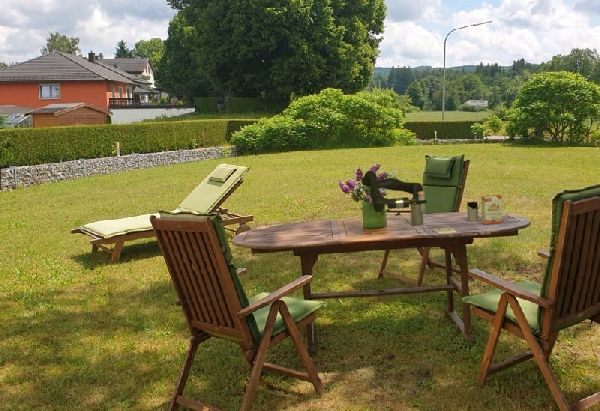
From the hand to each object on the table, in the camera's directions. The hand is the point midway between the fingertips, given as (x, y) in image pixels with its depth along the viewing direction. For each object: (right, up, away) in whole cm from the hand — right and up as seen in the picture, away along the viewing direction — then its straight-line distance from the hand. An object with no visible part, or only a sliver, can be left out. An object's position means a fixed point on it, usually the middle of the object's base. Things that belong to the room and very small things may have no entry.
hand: (425, 201), depth 422 cm
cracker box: (+55, -17, +22) cm, 61 cm away
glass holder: (+48, -16, +39) cm, 64 cm away
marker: (-2, -9, +1) cm, 9 cm away
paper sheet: (+14, -22, +2) cm, 26 cm away
